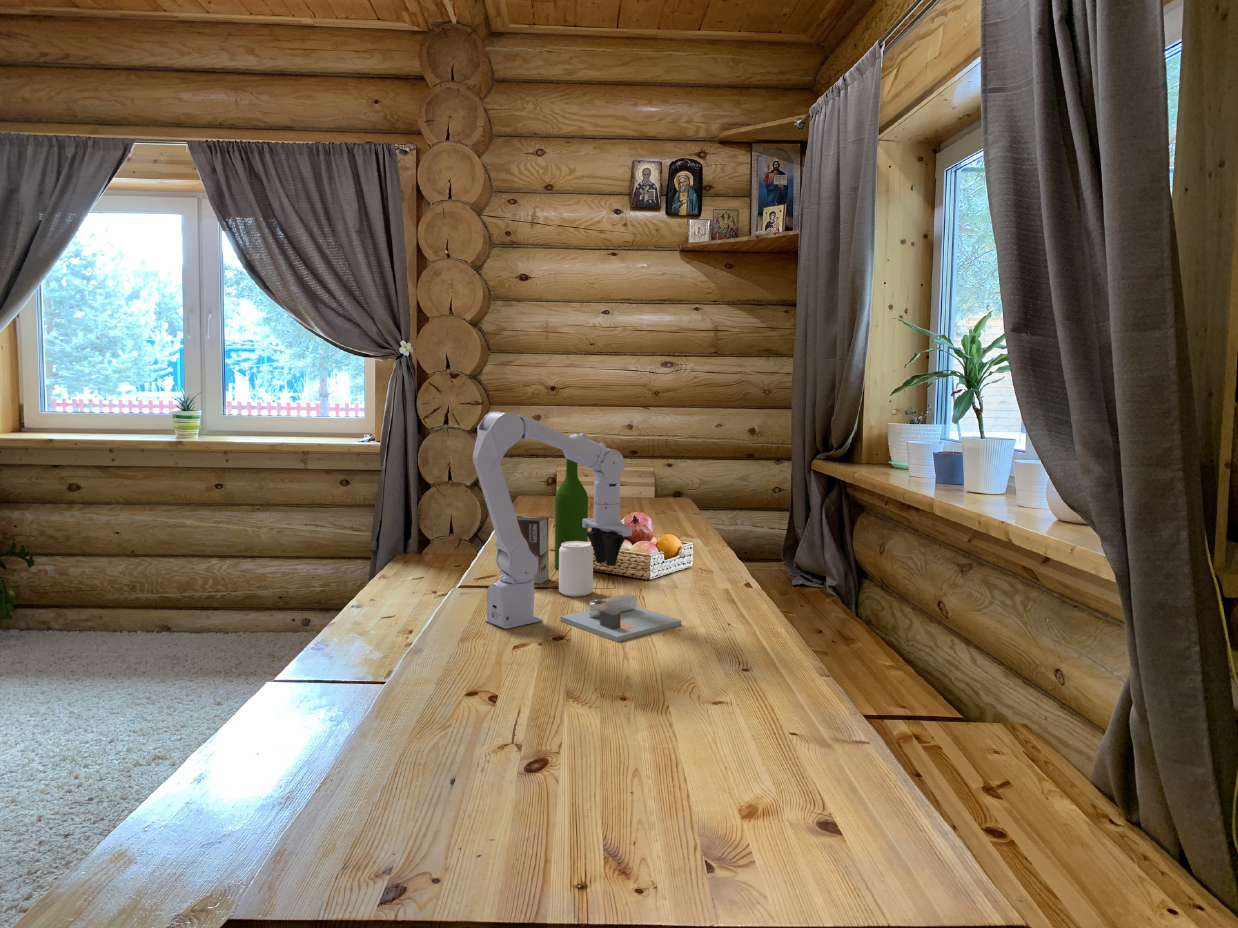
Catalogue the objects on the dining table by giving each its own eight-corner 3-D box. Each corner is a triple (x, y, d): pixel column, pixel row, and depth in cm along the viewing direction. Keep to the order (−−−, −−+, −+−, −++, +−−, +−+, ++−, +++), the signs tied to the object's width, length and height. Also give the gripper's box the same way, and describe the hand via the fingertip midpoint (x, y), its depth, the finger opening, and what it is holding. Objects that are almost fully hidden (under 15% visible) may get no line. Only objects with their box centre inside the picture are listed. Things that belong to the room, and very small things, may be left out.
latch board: (617, 641, 158) (617, 621, 158) (560, 620, 171) (560, 602, 171) (681, 624, 170) (681, 606, 170) (623, 606, 183) (623, 589, 183)
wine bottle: (593, 566, 223) (595, 448, 220) (574, 573, 215) (576, 450, 212) (567, 562, 228) (568, 447, 224) (547, 568, 220) (548, 449, 217)
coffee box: (549, 578, 209) (550, 516, 207) (540, 584, 203) (540, 520, 201) (517, 575, 212) (517, 514, 210) (506, 581, 205) (506, 518, 204)
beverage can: (591, 597, 190) (592, 547, 189) (557, 597, 191) (557, 546, 189) (593, 589, 198) (594, 540, 197) (560, 588, 199) (560, 540, 197)
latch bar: (596, 618, 169) (596, 603, 169) (585, 614, 172) (585, 599, 171) (637, 608, 177) (638, 594, 177) (626, 605, 180) (627, 590, 179)
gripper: (642, 505, 175) (641, 567, 177) (599, 497, 186) (598, 556, 187) (618, 508, 171) (617, 571, 172) (575, 500, 181) (574, 560, 183)
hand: (606, 563), depth 179 cm, fingers open, 3 cm apart
